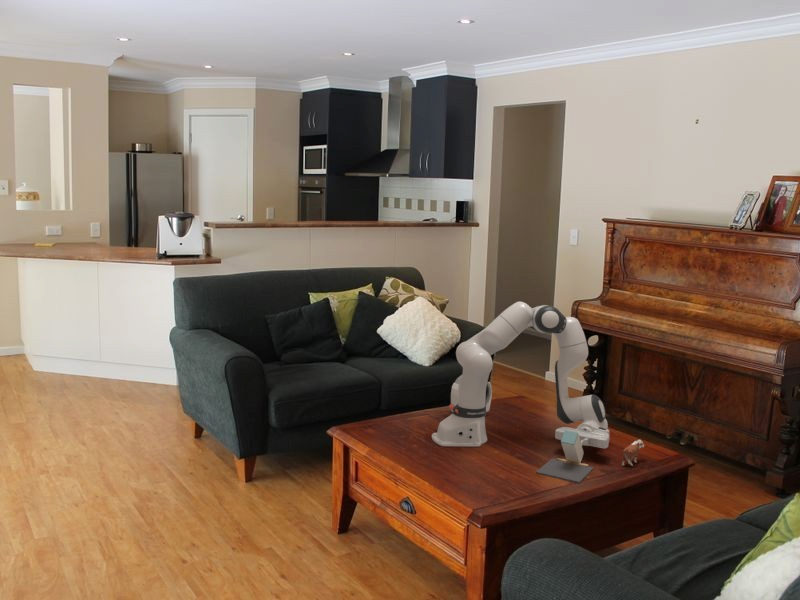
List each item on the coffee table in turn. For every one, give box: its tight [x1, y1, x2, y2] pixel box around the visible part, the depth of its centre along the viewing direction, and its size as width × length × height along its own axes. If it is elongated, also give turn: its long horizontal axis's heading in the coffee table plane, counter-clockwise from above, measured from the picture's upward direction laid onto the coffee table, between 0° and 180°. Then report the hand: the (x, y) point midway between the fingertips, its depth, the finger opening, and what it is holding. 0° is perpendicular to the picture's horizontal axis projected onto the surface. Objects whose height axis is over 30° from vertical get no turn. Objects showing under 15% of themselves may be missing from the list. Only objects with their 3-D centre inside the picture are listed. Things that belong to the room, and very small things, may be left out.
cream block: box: [560, 430, 584, 463], centre depth 287 cm, size 5×5×14 cm
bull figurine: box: [621, 439, 645, 467], centre depth 292 cm, size 4×13×8 cm, turn 137°
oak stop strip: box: [555, 457, 589, 467], centre depth 289 cm, size 12×2×1 cm, turn 59°
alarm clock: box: [450, 374, 493, 413], centre depth 342 cm, size 18×8×20 cm, turn 119°
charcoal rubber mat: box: [535, 458, 595, 484], centre depth 282 cm, size 16×17×1 cm
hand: (575, 442), depth 289 cm, fingers closed on cream block, 2 cm apart
